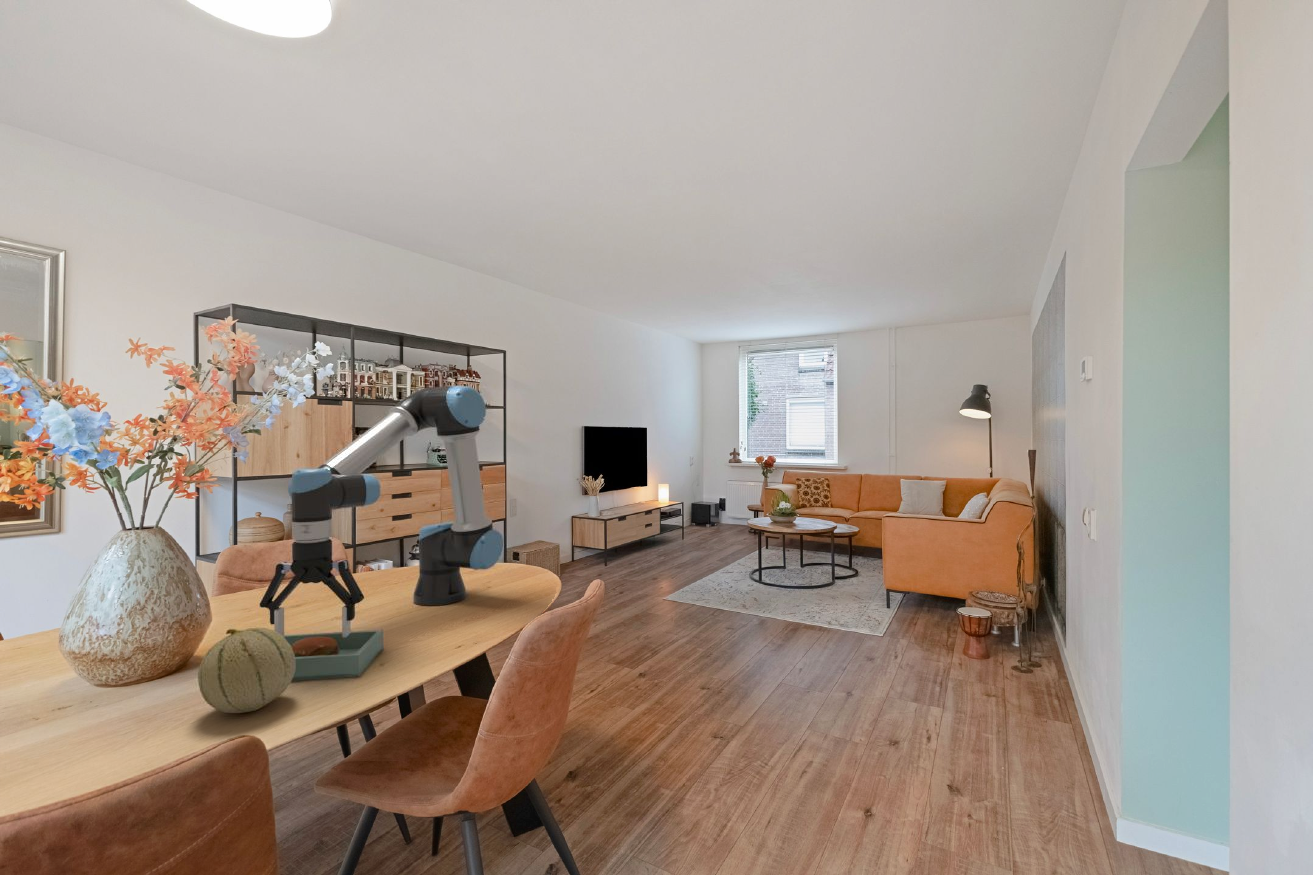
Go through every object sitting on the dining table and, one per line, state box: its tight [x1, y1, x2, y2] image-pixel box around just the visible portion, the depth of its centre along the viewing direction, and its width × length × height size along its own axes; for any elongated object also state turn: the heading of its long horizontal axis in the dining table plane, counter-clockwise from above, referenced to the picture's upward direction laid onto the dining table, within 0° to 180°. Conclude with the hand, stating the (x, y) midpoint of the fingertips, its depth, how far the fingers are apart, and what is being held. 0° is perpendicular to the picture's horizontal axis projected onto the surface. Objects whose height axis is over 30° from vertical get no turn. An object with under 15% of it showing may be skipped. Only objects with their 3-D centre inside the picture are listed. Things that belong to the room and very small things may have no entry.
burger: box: [291, 637, 339, 657], centre depth 129 cm, size 10×9×5 cm
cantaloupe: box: [197, 627, 296, 714], centre depth 108 cm, size 15×15×15 cm
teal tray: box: [284, 629, 384, 682], centre depth 128 cm, size 16×24×4 cm, turn 98°
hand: (313, 637), depth 128 cm, fingers open, 13 cm apart
